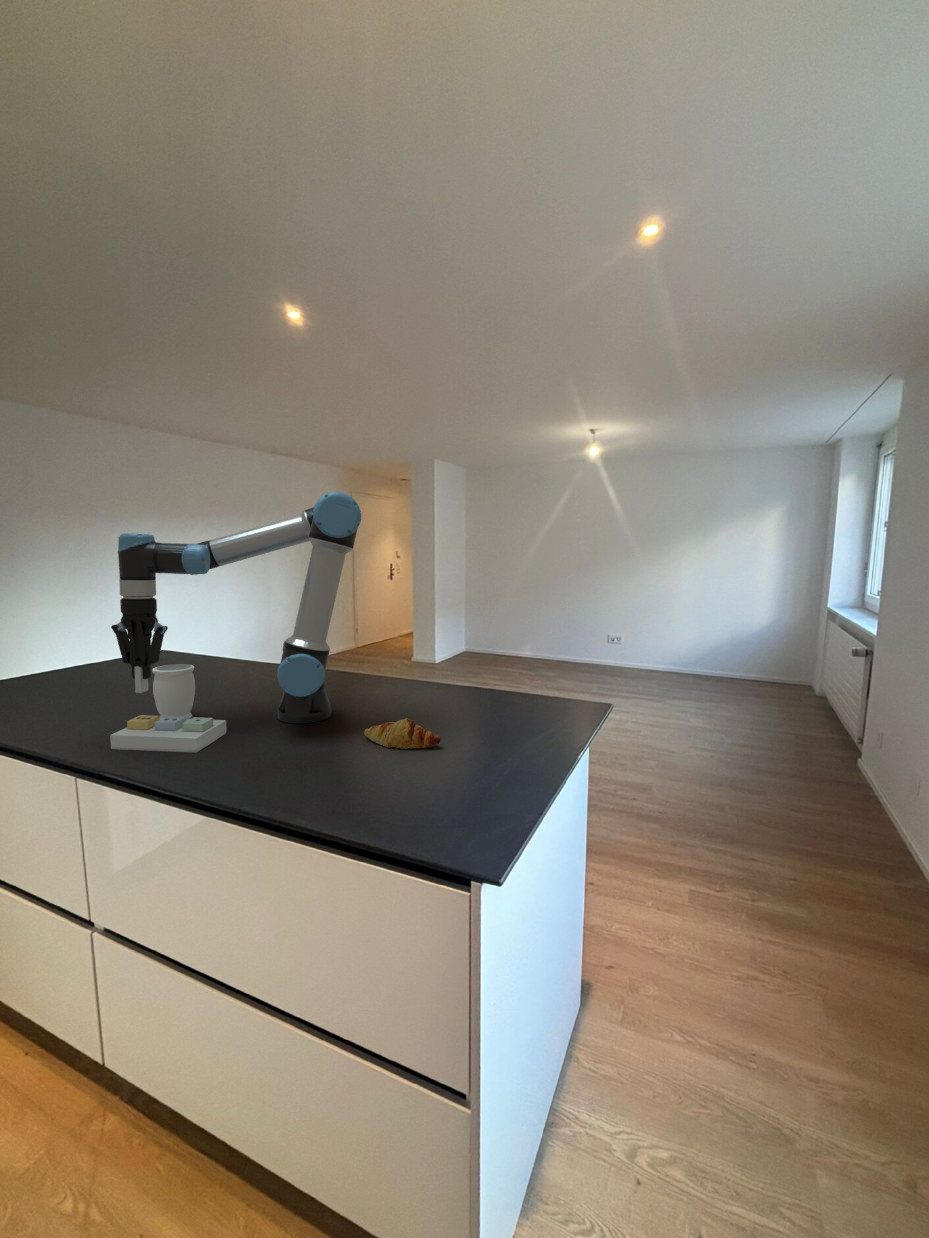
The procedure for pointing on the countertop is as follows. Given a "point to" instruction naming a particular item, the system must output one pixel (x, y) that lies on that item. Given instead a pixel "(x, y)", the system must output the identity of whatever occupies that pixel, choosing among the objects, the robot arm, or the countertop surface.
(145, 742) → the button board
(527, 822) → the countertop surface
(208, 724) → the tile one
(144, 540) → the robot arm
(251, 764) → the countertop surface
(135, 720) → the tile three
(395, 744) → the croissant
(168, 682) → the jar
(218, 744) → the countertop surface
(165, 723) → the tile two
